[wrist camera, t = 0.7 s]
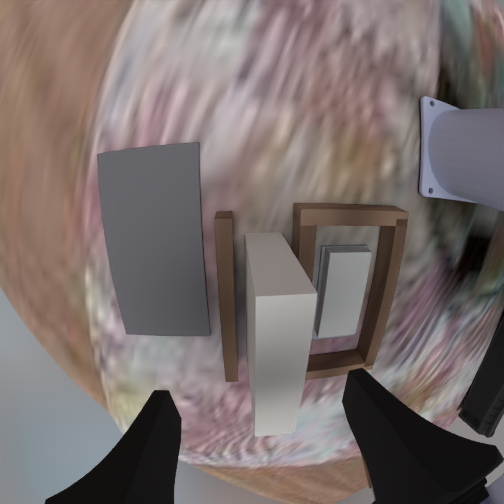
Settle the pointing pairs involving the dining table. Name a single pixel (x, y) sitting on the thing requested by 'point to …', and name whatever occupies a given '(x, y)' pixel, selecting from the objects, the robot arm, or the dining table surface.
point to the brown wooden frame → (304, 250)
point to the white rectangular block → (276, 331)
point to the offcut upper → (342, 290)
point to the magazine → (487, 389)
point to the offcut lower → (321, 281)
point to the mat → (155, 238)
